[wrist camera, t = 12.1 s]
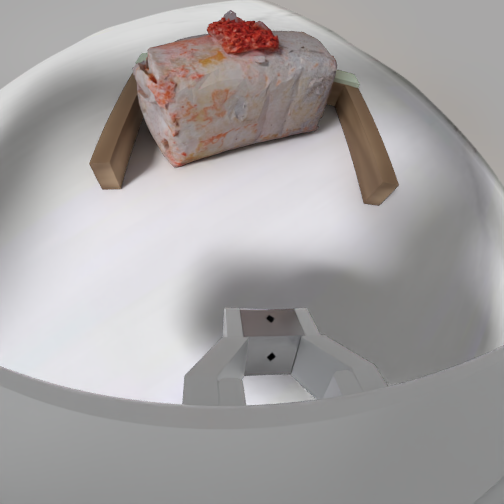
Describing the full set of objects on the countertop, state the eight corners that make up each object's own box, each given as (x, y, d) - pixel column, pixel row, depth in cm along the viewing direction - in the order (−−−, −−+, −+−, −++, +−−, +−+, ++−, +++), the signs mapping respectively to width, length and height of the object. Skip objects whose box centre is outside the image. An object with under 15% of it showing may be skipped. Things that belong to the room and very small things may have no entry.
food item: (163, 186, 18) (142, 62, 9) (139, 120, 20) (124, 20, 11) (321, 141, 22) (365, 48, 13) (276, 89, 24) (299, 6, 15)
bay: (102, 189, 17) (86, 158, 14) (144, 80, 22) (141, 53, 19) (379, 205, 20) (402, 181, 17) (342, 98, 25) (354, 74, 22)
